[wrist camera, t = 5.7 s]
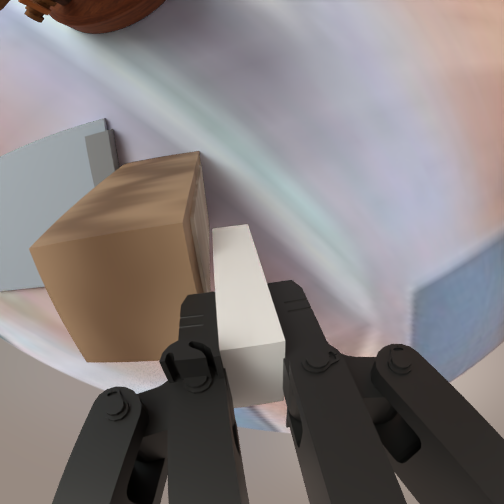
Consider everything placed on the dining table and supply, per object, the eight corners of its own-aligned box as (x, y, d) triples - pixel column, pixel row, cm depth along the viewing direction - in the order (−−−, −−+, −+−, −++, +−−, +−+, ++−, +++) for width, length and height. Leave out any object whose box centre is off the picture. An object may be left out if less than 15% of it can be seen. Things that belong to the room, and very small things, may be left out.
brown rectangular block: (201, 150, 21) (187, 222, 8) (210, 222, 23) (215, 355, 11) (124, 163, 20) (28, 248, 8) (139, 232, 23) (86, 362, 11)
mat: (111, 116, 18) (105, 117, 17) (144, 272, 25) (142, 280, 24) (-42, 179, 16) (-48, 182, 15) (-2, 289, 23) (-7, 295, 22)
